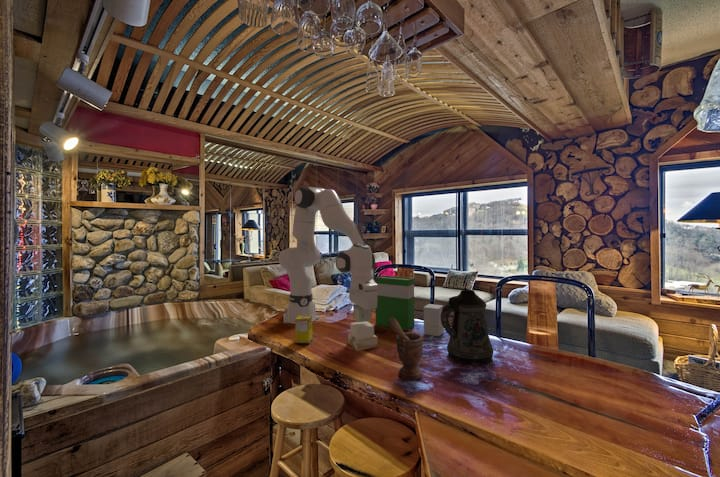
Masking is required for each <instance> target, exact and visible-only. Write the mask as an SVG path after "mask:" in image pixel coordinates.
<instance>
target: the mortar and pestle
mask: <svg viewBox="0 0 720 477" xmlns="http://www.w3.org/2000/svg"><path fill="white" fill-rule="evenodd" d="M388 323H389V325H390V327H389V328H391V330H393V332H394V333H395V334H396V337H395V338H396V351H397V352H396V353H397V354H398V359H399V361H400V362H402V365H403V366H402V367H401V368H400V369H399V371H398V376H399V377H400V378H402V379H403V380H407V381H417V380H419V379H421V377H422V374H423V373H422V371H421V369H420V367H418V364H419V363H420V362H421V359H422V357H423V352H424V346H423V343H424V336H423V335H422V334H420V333H416V332H404V331H403V329H401V327H400V325H399V323H398V321H397V320H396V319H395V318H393V317H392V318H390V319H389V320H388Z"/></svg>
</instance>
